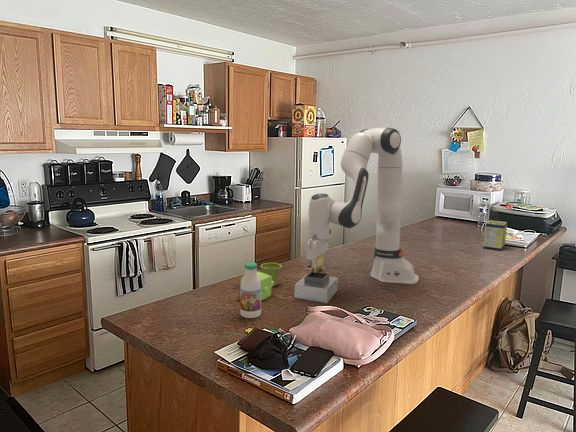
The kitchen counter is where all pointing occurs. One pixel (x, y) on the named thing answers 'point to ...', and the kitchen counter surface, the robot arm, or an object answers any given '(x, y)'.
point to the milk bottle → (250, 292)
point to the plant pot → (272, 270)
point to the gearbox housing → (316, 287)
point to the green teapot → (264, 285)
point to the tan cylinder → (318, 265)
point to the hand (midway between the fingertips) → (316, 264)
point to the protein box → (495, 235)
